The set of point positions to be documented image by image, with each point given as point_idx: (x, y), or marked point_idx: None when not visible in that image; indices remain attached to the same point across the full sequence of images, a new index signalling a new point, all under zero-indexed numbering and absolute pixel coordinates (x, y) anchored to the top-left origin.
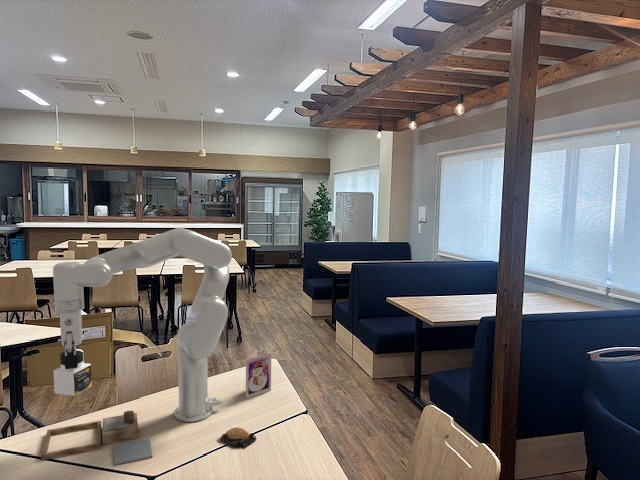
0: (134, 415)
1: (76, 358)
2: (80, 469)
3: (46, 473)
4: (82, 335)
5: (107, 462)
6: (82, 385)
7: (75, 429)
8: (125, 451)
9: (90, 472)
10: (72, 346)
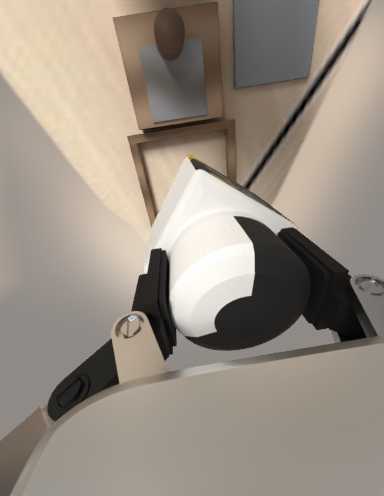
0: (131, 24)
1: (324, 257)
2: (287, 147)
3: (273, 198)
4: (156, 412)
5: (288, 95)
6: (235, 183)
7: (148, 187)
8: (272, 51)
9: (305, 125)
10: (165, 340)
